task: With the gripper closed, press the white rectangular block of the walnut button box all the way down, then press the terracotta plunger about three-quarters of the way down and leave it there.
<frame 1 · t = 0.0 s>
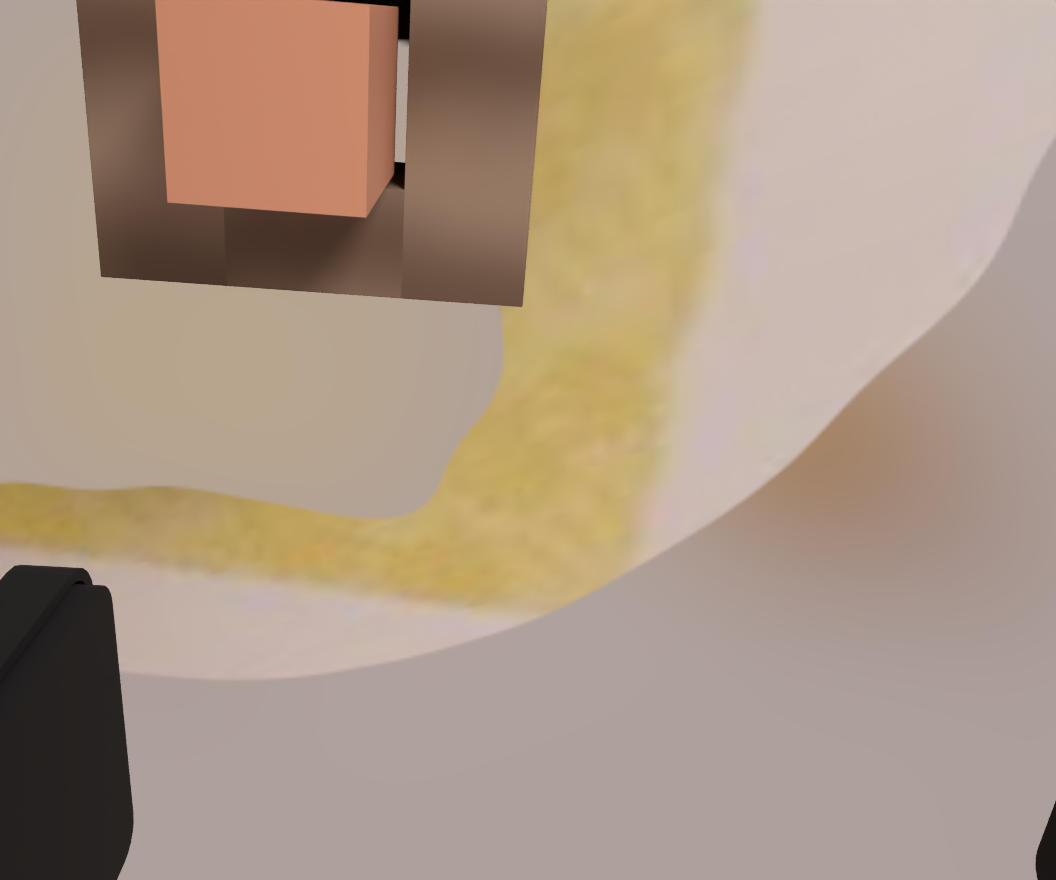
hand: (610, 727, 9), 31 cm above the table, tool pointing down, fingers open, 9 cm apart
terracotta plunger: (293, 95, 28), point 9 cm above the table, slide at 0.0 cm
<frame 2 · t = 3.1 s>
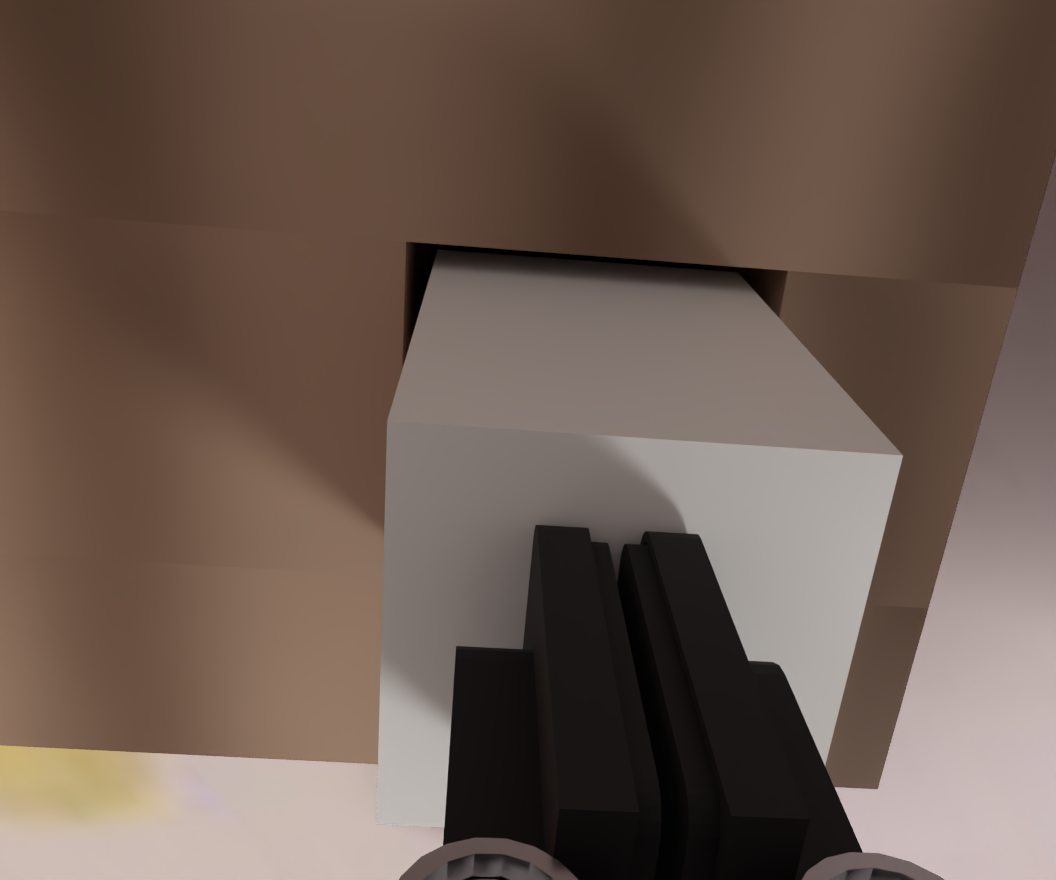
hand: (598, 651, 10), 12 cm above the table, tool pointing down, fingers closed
white rectangular block: (590, 497, 14), point 8 cm above the table, slide at 0.9 cm, touching gripper
button box: (212, 301, 21), on the table
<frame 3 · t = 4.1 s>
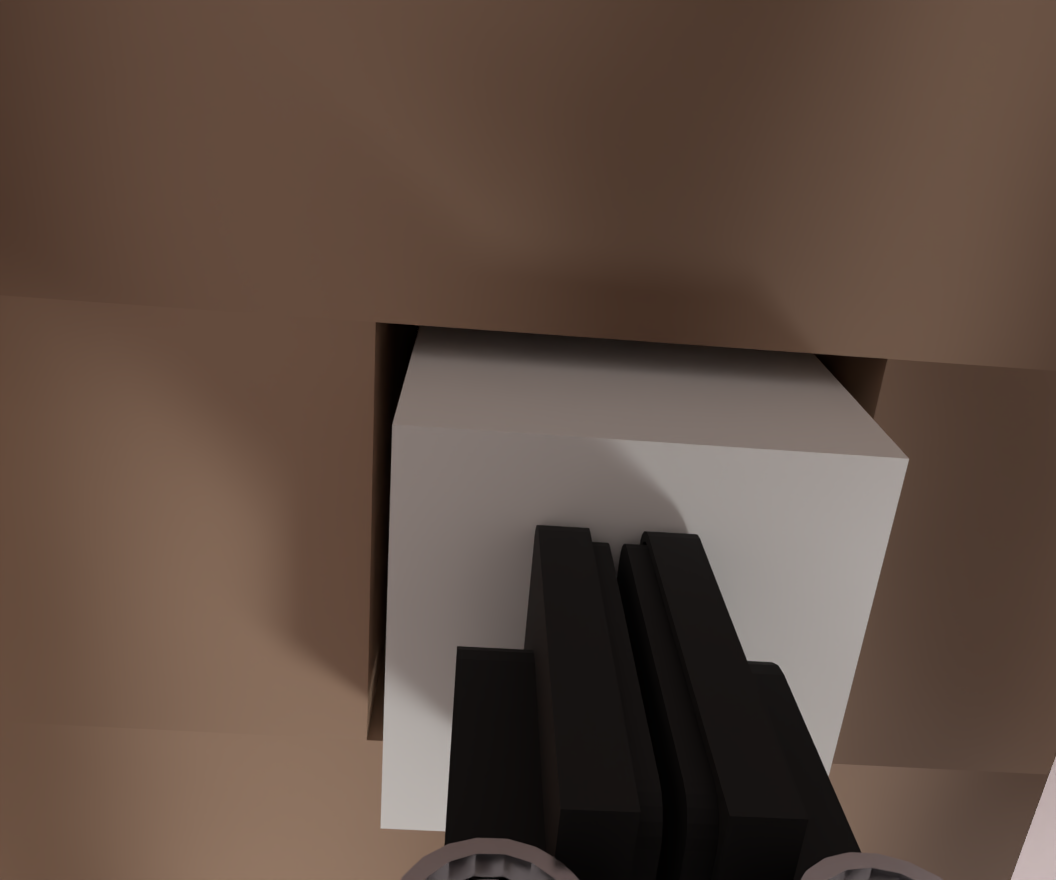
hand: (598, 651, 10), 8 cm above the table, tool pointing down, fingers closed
white rectangular block: (594, 499, 14), point 4 cm above the table, slide at 5.1 cm, touching gripper
button box: (150, 365, 17), on the table
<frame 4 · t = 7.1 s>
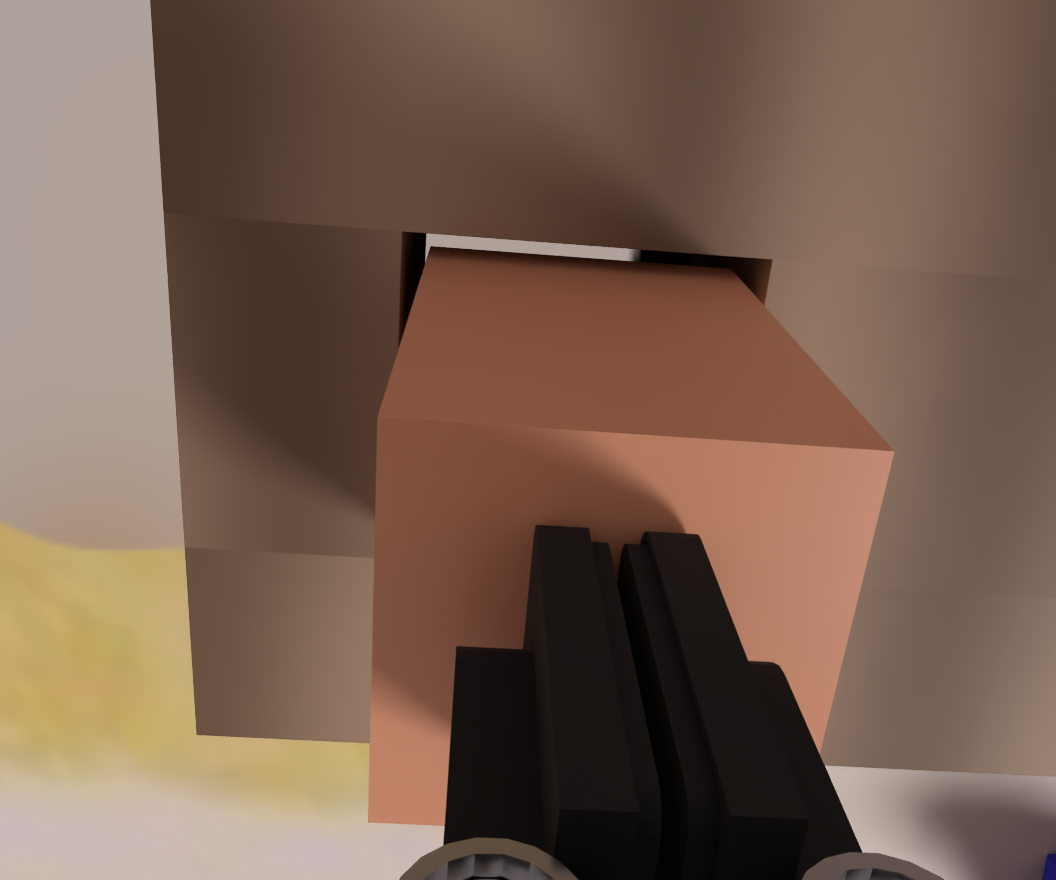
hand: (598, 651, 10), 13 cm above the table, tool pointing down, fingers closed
terracotta plunger: (583, 493, 14), point 9 cm above the table, slide at 0.4 cm, touching gripper
button box: (883, 340, 22), on the table
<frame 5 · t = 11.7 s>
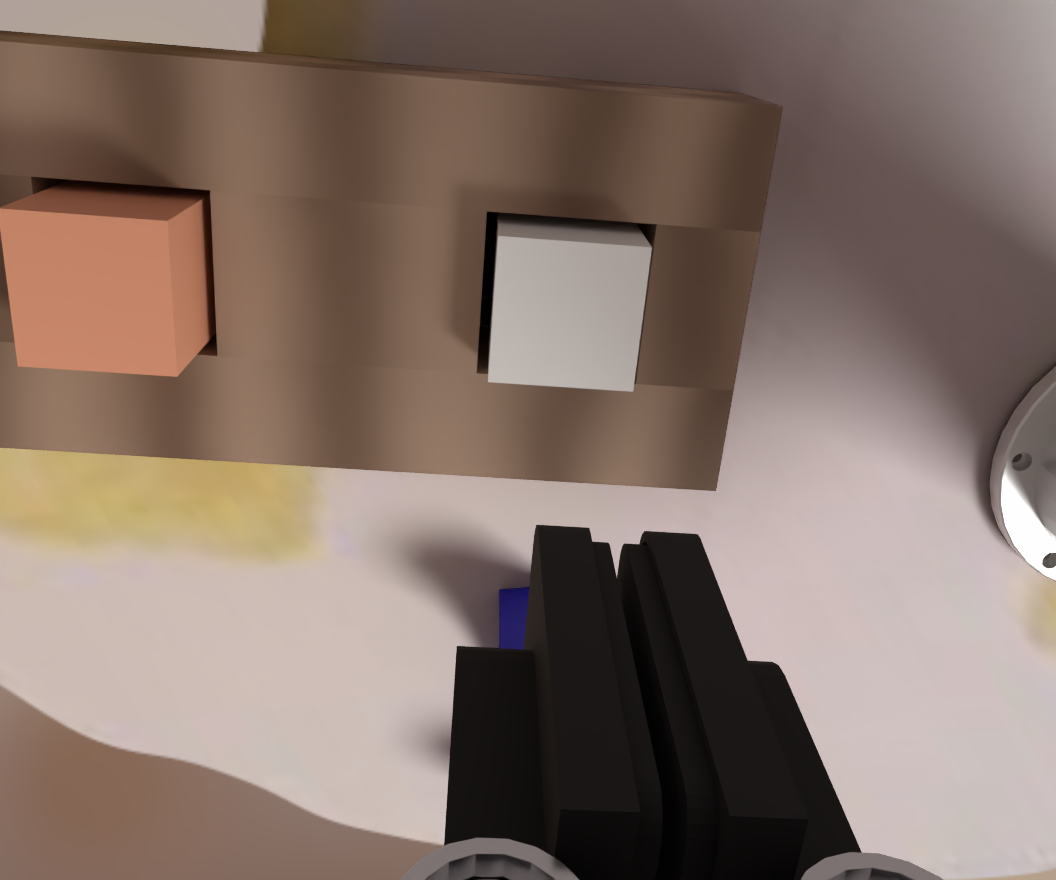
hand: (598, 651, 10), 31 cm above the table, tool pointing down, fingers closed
terracotta plunger: (131, 267, 34), point 6 cm above the table, slide at 3.6 cm
cable clip: (554, 685, 49), on the table
white rectangular block: (561, 287, 36), point 4 cm above the table, slide at 5.1 cm
button box: (369, 247, 40), on the table
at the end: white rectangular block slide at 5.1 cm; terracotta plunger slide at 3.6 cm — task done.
